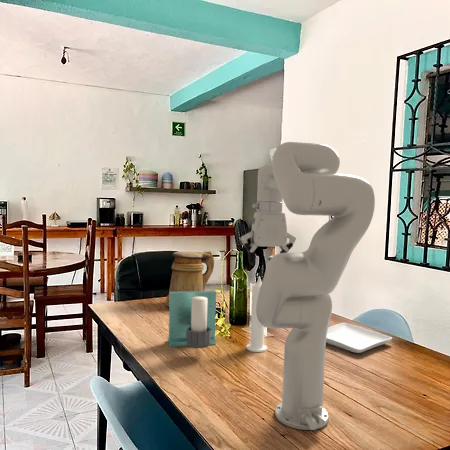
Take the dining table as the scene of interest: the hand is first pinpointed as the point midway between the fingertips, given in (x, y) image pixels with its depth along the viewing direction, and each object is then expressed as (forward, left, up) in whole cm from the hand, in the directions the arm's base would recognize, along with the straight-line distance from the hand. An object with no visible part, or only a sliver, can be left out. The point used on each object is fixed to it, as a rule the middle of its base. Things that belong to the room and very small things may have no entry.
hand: (267, 265), depth 131 cm
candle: (+15, -3, -32) cm, 35 cm away
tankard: (+74, +11, -32) cm, 81 cm away
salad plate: (+16, -39, -32) cm, 53 cm away
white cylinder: (+11, +18, -27) cm, 34 cm away
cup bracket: (+17, +18, -32) cm, 40 cm away
